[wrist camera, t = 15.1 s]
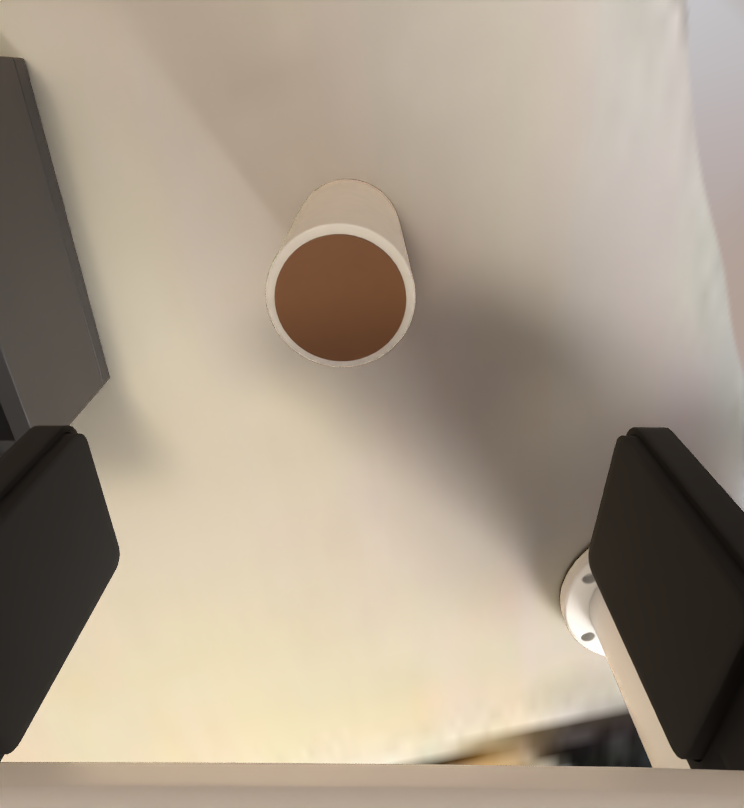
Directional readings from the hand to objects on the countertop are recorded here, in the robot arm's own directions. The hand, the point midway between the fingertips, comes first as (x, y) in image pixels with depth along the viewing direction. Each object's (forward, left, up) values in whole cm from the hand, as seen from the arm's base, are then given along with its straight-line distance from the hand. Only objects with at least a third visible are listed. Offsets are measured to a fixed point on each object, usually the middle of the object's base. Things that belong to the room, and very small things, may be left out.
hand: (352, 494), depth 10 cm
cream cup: (0, -1, -17) cm, 17 cm away
